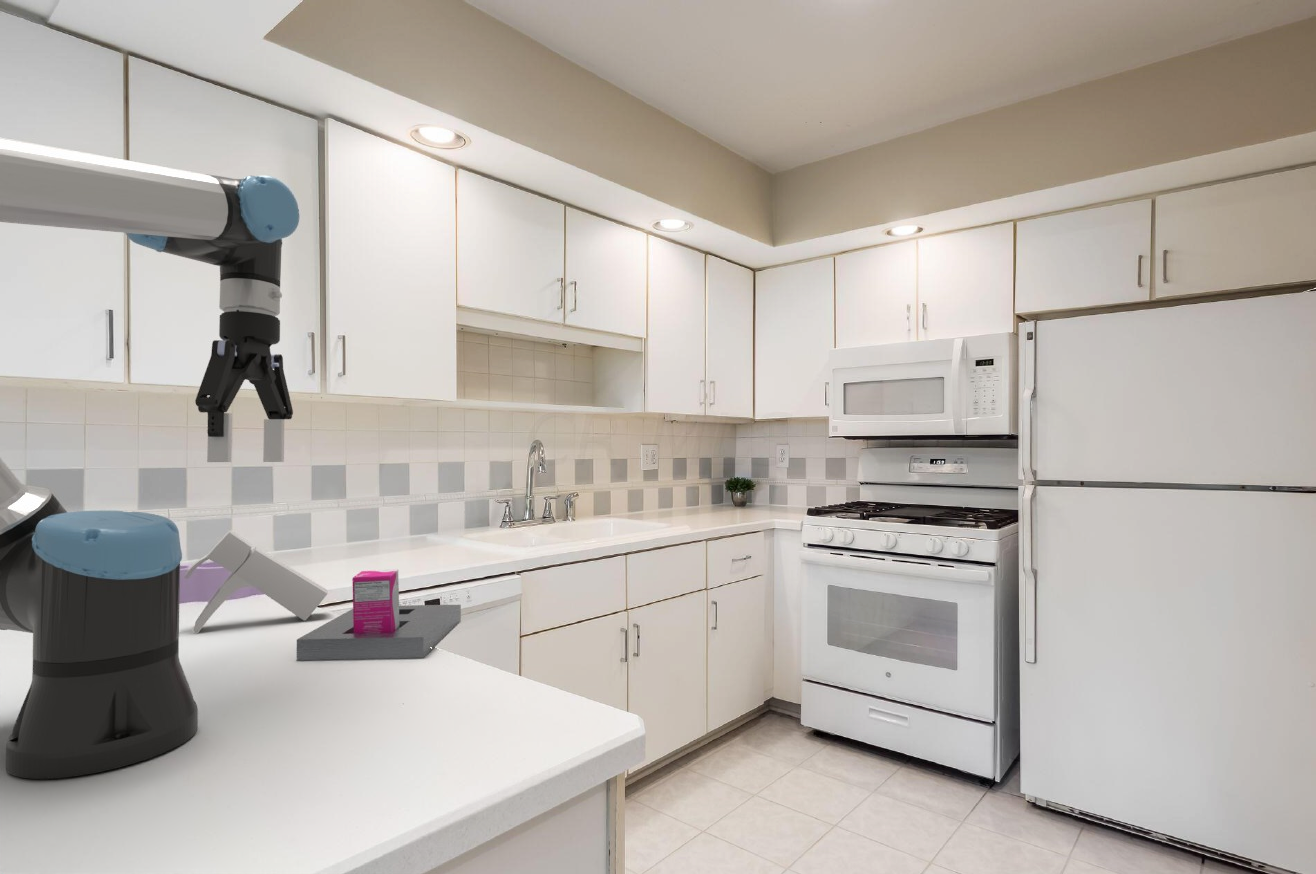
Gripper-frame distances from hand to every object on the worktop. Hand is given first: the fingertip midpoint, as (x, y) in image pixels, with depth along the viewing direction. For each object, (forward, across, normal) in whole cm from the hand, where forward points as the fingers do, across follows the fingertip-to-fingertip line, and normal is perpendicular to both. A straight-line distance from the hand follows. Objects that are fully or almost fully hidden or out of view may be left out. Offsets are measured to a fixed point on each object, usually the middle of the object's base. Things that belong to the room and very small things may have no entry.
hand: (248, 462), depth 99 cm
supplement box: (+29, +8, -16) cm, 34 cm away
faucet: (+29, +24, +11) cm, 39 cm away
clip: (+29, +49, +35) cm, 67 cm away
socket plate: (+28, +12, -15) cm, 35 cm away
